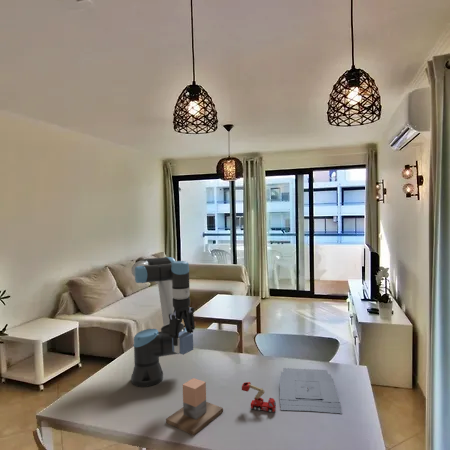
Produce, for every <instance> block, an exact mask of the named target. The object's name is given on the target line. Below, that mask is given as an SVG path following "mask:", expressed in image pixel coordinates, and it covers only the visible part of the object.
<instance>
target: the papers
mask: <svg viewBox="0 0 450 450" xmlns="http://www.w3.org/2000/svg"><path fill="white" fill-rule="evenodd" d="M282 370H283V371H280V375H279V406H280V411H300V412H301V411H305V412H319V413H320V412H321V413H331V414H343V411H342V406H341V401H340V397H339V395H338V391H337V387H336V383H335V381H334V378H333V377H332V374H331V373H328V370H327V369H314V368H313V369H312V368H311V369H309V368H308V369H306V368H292V367H290V368H289V367H288V368H286V367H283V368H282Z"/></svg>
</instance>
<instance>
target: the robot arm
mask: <svg viewBox="0 0 450 450" xmlns="http://www.w3.org/2000/svg"><path fill="white" fill-rule="evenodd" d="M189 266H190V264H189V262H188V261H186V260H185V261H184V260H177V261H176V259H175V258H174V257H170V256H169V257H167V256H164V257H154V258H153V257H152V258H149V257H148V258H144V259H140V260H138V261H136V262H135V263H134V264H133V265H132V267H131V274H132V276H133V277H134V281H135V283H136V284H145V283H154V282H155V284H157V286H158V292H159V293H158V294H159V303H160V308H161V317H162V324H163V325H162V327H161V328H160V331H159V330H158V329H157V328H146V329H144V330H141V331H138V332H137V333H136V334H135V335H134V337H133V354H134V356H133V357H134V359H133V360H134V362H133V363H134V367H133V370H132V374H131V384H132V385H134V386H136V387H141V388H142V387H143V388H144V387H152V386H155V385H157V384H159V383H160V382H162V381H163V379H164V371H163V370H162V369H163V368H162V366H161V363H160V357H166V356H173V355H174V356H175V355H179V353H180V338H178V336H179V332H181V331H183V332H188V333H192V334H193V333H194V330H196V328H195V325H196V324H195V316H194V313H195V308H194V307H190V306H191V298H190V295H191V294H190V291H191V289H190V267H189ZM172 338H173V345H174V352H173V351H172Z"/></svg>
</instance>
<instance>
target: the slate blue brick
mask: <svg viewBox="0 0 450 450" xmlns="http://www.w3.org/2000/svg"><path fill="white" fill-rule="evenodd" d="M178 338H180V353H179V354H180V355H183V356H184V355H185V354H187V353H190V352H191V351H193V350H194V334H193V333H192V332H191V333H188V332H183V331H181V332H179V336H178ZM172 351H173V352H174V345H173V338H172ZM179 354H178V355H179Z"/></svg>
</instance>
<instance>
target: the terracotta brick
mask: <svg viewBox="0 0 450 450" xmlns="http://www.w3.org/2000/svg"><path fill="white" fill-rule="evenodd" d="M206 383H207V382H206V381H203V380H201V379H197V378H194V377H192V378H191V379H189V380H187V381H186V382H184V383H183V384H182V403H183V402H184V403H187V404H189V405H192V406H194V407H197V406H198V405H199V404H201V403H202V402H203V401H205V400H206V401H207V387H206V385H207V384H206Z"/></svg>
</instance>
